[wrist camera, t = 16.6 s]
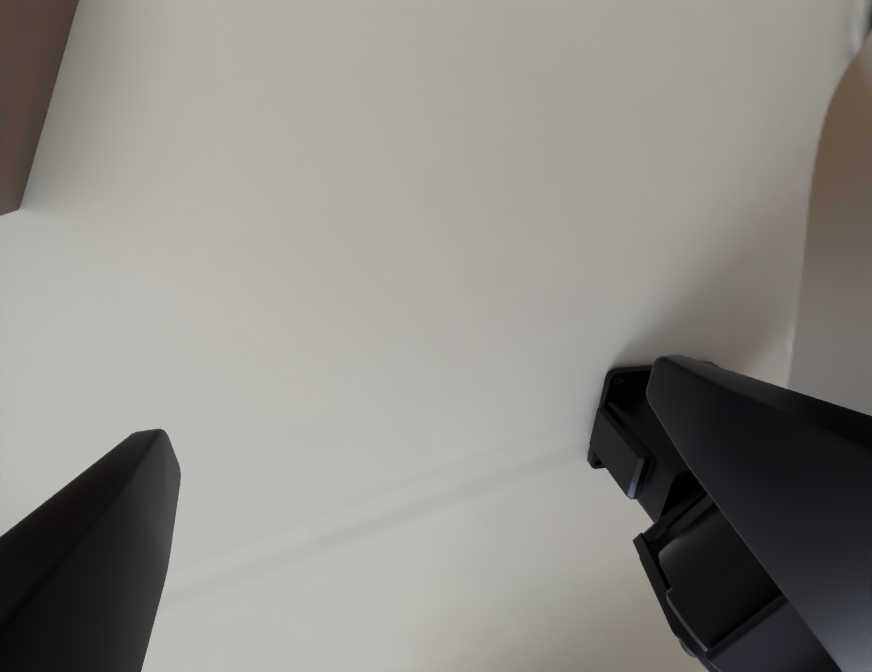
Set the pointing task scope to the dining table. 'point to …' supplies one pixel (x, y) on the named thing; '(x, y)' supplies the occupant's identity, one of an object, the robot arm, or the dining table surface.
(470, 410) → the dining table surface
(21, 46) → the walnut base
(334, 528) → the dining table surface
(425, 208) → the dining table surface
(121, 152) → the dining table surface
